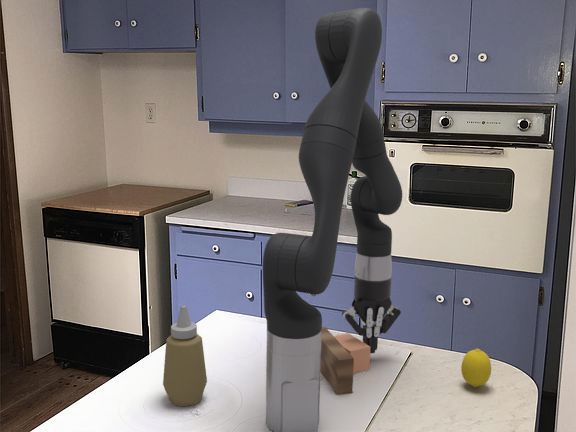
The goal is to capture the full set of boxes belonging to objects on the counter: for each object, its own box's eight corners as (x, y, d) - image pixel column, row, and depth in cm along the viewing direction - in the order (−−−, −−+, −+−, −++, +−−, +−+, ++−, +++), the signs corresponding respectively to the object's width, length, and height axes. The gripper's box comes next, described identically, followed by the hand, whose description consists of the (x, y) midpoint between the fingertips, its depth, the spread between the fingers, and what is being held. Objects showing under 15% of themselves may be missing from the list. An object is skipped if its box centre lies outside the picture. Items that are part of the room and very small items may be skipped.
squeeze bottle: (168, 387, 117) (166, 298, 113) (210, 389, 116) (209, 299, 113) (158, 409, 109) (155, 314, 105) (203, 411, 108) (202, 315, 105)
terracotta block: (369, 369, 126) (370, 346, 125) (349, 374, 123) (350, 351, 122) (347, 354, 132) (348, 332, 131) (327, 359, 130) (328, 337, 129)
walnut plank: (352, 392, 116) (353, 358, 114) (337, 394, 115) (338, 360, 114) (324, 357, 131) (325, 326, 129) (310, 358, 130) (311, 328, 129)
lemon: (494, 387, 119) (497, 349, 117) (481, 397, 115) (485, 357, 113) (468, 377, 123) (471, 340, 121) (454, 387, 119) (457, 349, 117)
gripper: (349, 282, 120) (347, 363, 124) (410, 276, 124) (406, 356, 127) (336, 270, 127) (334, 348, 131) (394, 266, 131) (390, 341, 135)
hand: (369, 351), depth 129 cm, fingers closed
